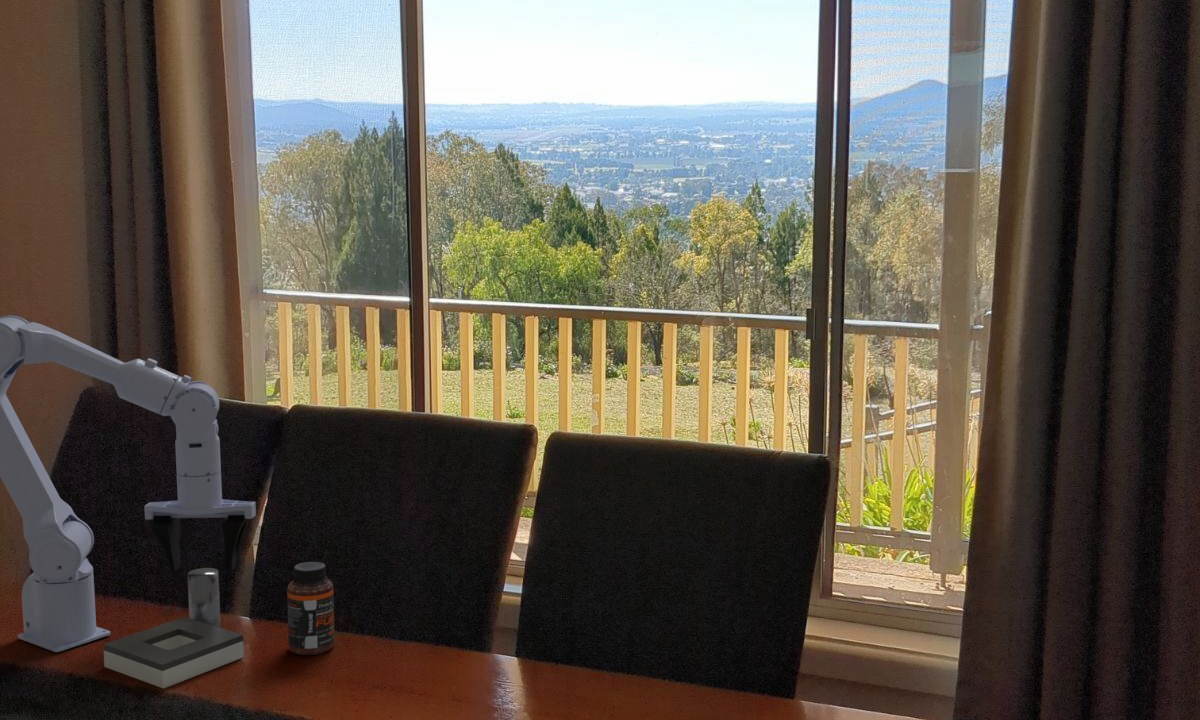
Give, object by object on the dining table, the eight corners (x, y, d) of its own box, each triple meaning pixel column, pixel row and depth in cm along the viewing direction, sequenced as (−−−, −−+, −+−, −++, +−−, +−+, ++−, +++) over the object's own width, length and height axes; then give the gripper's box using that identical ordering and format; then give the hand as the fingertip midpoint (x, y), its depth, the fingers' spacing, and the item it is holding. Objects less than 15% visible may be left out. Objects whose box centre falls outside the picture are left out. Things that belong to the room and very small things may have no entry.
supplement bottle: (322, 658, 148) (320, 574, 147) (280, 655, 149) (277, 571, 148) (342, 642, 154) (340, 560, 153) (301, 638, 155) (298, 557, 154)
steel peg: (183, 629, 159) (181, 573, 158) (208, 621, 162) (205, 566, 161) (202, 635, 156) (200, 578, 155) (226, 626, 160) (224, 571, 159)
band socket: (104, 666, 145) (103, 644, 145) (185, 638, 155) (184, 616, 155) (163, 688, 139) (162, 664, 138) (243, 657, 149) (243, 634, 148)
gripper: (260, 465, 160) (263, 559, 162) (155, 466, 160) (160, 560, 162) (246, 477, 153) (249, 575, 155) (136, 477, 153) (141, 576, 155)
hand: (203, 568), depth 158 cm, fingers open, 7 cm apart
